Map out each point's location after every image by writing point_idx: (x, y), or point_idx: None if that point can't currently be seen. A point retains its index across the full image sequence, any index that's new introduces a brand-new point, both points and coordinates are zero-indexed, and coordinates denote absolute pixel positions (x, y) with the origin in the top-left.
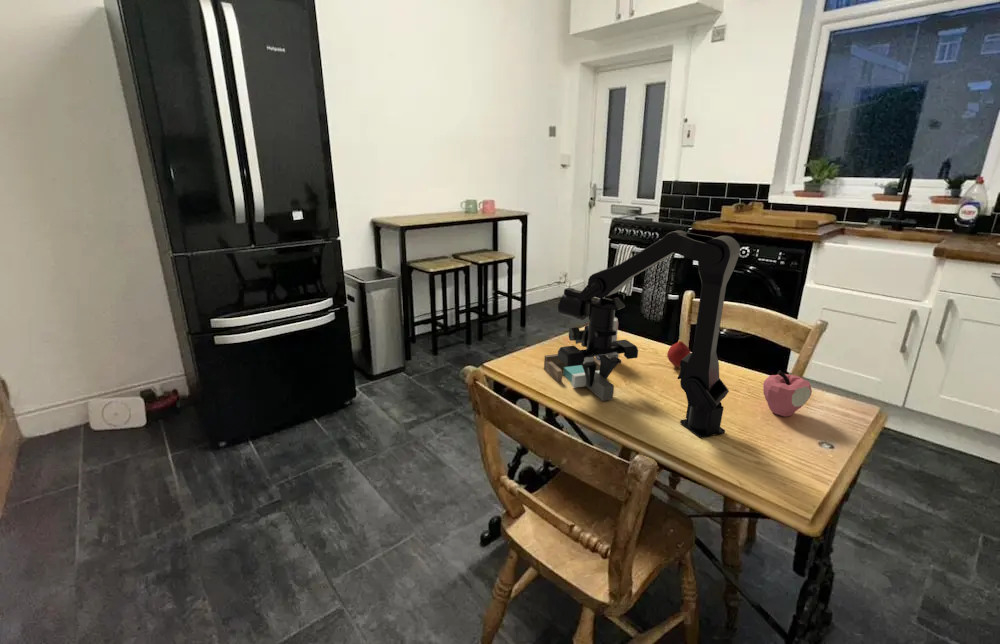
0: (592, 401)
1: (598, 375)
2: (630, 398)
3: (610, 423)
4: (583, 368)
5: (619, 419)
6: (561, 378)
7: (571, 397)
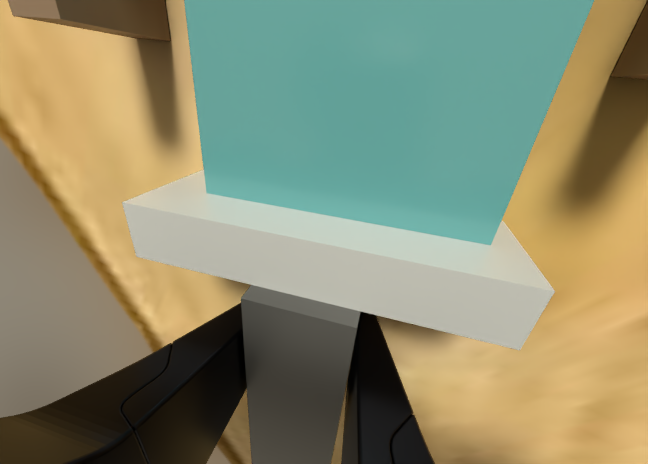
0: None
1: (319, 383)
2: (459, 420)
3: (241, 444)
4: (112, 386)
5: None
6: (143, 34)
7: (173, 268)
